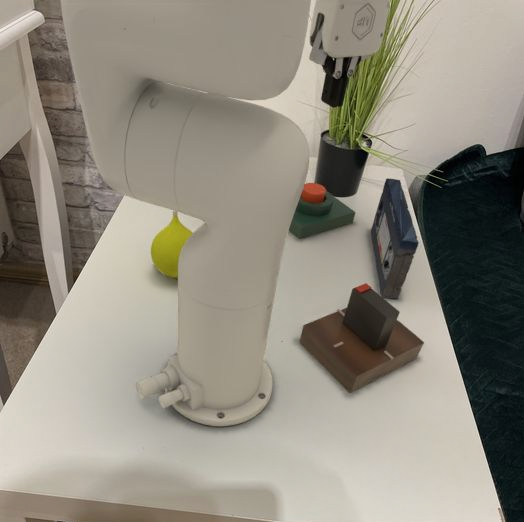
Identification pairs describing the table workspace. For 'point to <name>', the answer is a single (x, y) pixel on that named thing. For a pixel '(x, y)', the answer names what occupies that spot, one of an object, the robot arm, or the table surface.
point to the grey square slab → (370, 316)
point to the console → (357, 350)
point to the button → (313, 193)
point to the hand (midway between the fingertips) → (331, 103)
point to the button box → (320, 216)
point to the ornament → (169, 246)
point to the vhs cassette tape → (393, 239)
